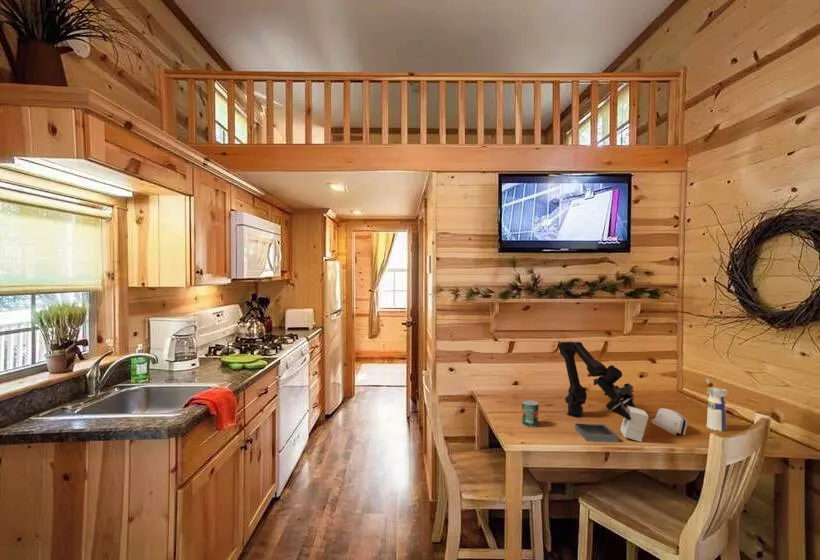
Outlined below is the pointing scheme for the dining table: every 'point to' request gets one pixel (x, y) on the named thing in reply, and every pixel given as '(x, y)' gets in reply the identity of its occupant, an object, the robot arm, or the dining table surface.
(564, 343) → the robot arm
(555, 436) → the dining table surface
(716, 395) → the white tall bottle
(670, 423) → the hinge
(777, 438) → the dining table surface
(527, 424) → the canned tomato
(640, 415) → the supplement box
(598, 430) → the square collar
